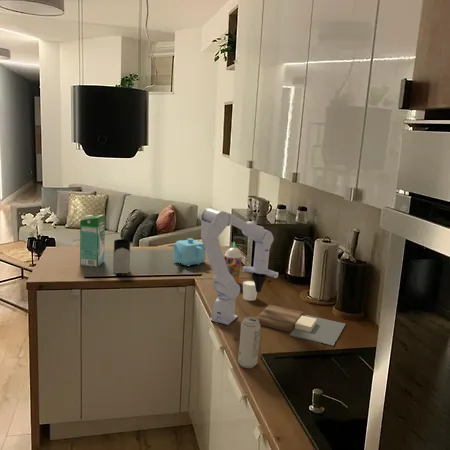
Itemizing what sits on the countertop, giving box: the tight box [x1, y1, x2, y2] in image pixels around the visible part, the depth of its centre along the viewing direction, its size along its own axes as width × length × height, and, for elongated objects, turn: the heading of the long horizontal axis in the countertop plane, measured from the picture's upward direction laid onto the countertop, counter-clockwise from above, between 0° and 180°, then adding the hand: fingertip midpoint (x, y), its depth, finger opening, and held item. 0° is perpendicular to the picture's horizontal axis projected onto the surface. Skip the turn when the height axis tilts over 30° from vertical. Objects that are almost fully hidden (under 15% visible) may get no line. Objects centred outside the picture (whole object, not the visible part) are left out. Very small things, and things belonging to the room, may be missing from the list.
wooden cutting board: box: [255, 304, 304, 333], centre depth 187 cm, size 16×14×2 cm
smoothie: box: [223, 241, 243, 284], centre depth 226 cm, size 8×8×20 cm
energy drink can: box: [237, 316, 262, 369], centre depth 150 cm, size 6×6×15 cm
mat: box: [289, 314, 347, 347], centre depth 181 cm, size 22×16×1 cm
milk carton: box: [79, 214, 106, 268], centre depth 240 cm, size 9×9×25 cm
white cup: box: [242, 280, 258, 302], centre depth 208 cm, size 7×7×7 cm
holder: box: [111, 238, 131, 274], centre depth 235 cm, size 9×14×15 cm, turn 14°
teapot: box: [170, 237, 206, 266], centre depth 252 cm, size 18×16×14 cm
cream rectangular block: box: [294, 315, 317, 332], centre depth 183 cm, size 9×6×2 cm, turn 156°
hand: (258, 291), depth 194 cm, fingers closed
